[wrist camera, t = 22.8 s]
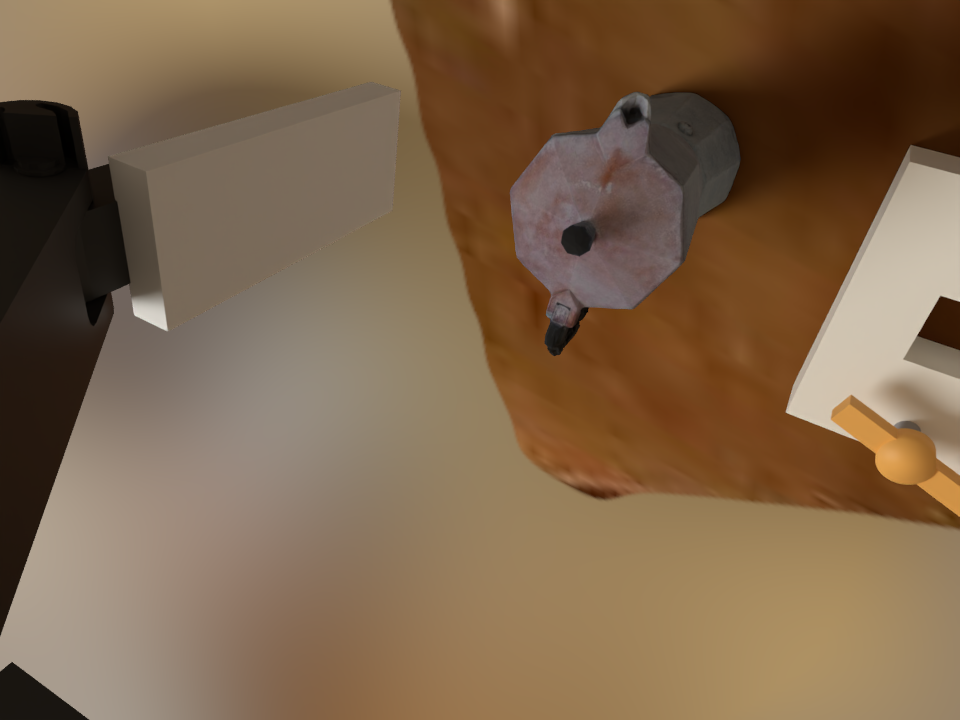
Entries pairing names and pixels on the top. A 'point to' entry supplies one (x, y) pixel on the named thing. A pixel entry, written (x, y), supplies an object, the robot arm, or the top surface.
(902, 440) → the orange bar with knob
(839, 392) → the socket board
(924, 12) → the top surface
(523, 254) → the moka pot
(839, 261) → the top surface
